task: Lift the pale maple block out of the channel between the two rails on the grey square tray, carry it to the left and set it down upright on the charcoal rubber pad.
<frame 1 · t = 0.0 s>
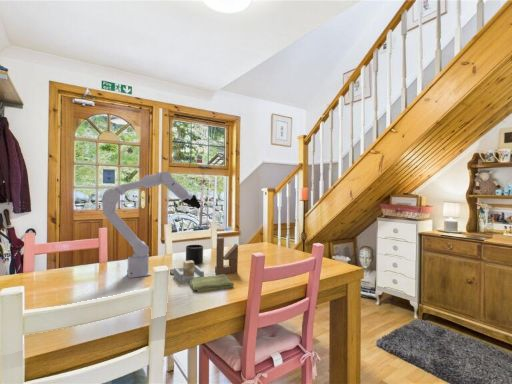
hand: (197, 206, 150), 32 cm above the table, tool tilted 50°, fingers open, 7 cm apart
washcloth: (211, 286, 125), on the table
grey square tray: (188, 278, 133), on the table
mug: (195, 263, 160), on the table
block: (188, 274, 133), point 2 cm above the table, touching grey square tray
pad: (179, 271, 143), on the table
brown angular piece: (226, 273, 142), on the table
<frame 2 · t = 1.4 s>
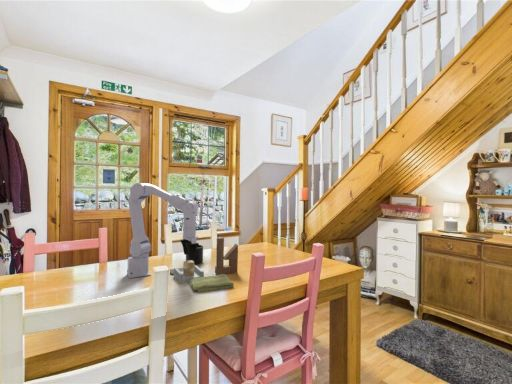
hand: (189, 256, 133), 10 cm above the table, tool pointing down, fingers open, 7 cm apart
nothing on the table moved.
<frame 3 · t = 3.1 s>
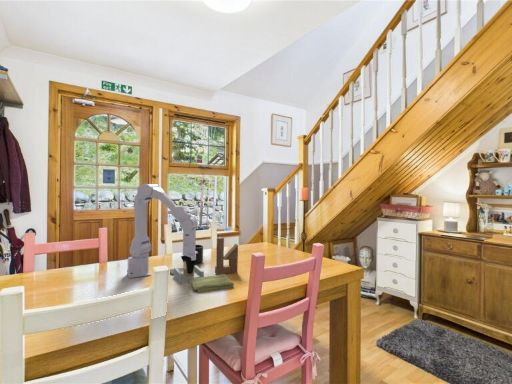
hand: (188, 272, 133), 3 cm above the table, tool pointing down, fingers closed on block, 4 cm apart
block: (188, 274, 133), point 2 cm above the table, touching gripper, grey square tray
everything else where it was.
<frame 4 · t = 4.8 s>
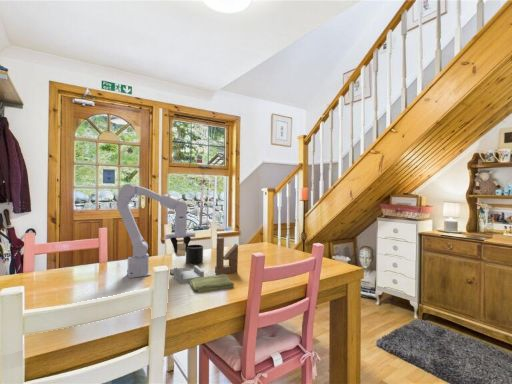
hand: (180, 252, 143), 10 cm above the table, tool pointing down, fingers closed on block, 4 cm apart
block: (180, 255, 142), point 8 cm above the table, touching gripper
everything else where it was.
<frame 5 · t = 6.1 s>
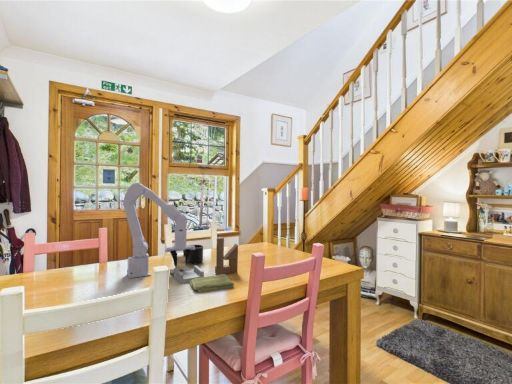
hand: (180, 265, 143), 3 cm above the table, tool pointing down, fingers closed on block, 4 cm apart
block: (180, 268, 143), point 2 cm above the table, touching gripper
everything else where it was.
when the fingers open (3 cm above the table, at t = 6.8 s): block drops 1 cm, resting on pad.
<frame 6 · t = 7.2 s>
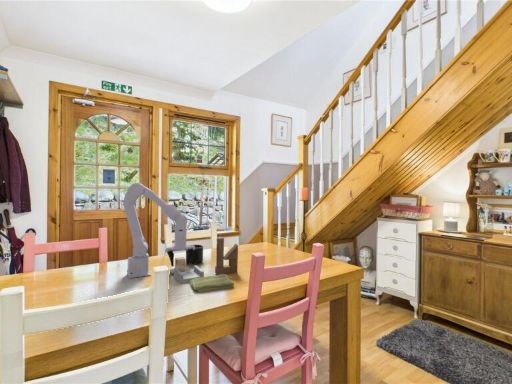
hand: (180, 265, 143), 3 cm above the table, tool pointing down, fingers open, 7 cm apart
block: (180, 270, 143), point 1 cm above the table, touching pad
everything else where it was.
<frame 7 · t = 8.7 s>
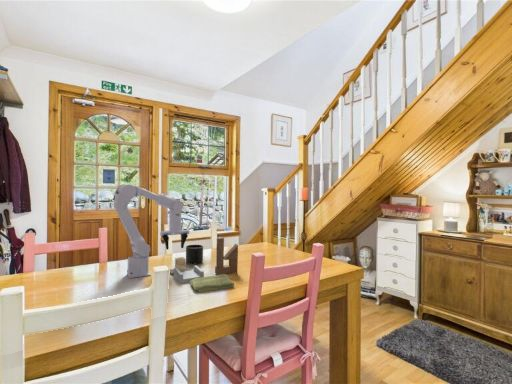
hand: (174, 248, 148), 10 cm above the table, tool pointing down, fingers open, 7 cm apart
nothing on the table moved.
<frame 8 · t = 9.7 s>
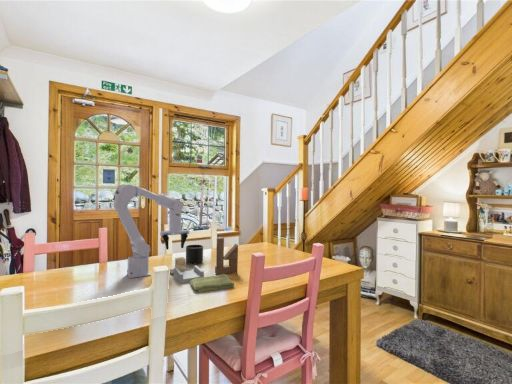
hand: (174, 248, 148), 10 cm above the table, tool pointing down, fingers open, 7 cm apart
nothing on the table moved.
at the end: block inside the target area on the pad (0.2 cm from its centre), point 0.8 cm above the pad's base; block tilted 0°; the gripper is holding nothing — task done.
